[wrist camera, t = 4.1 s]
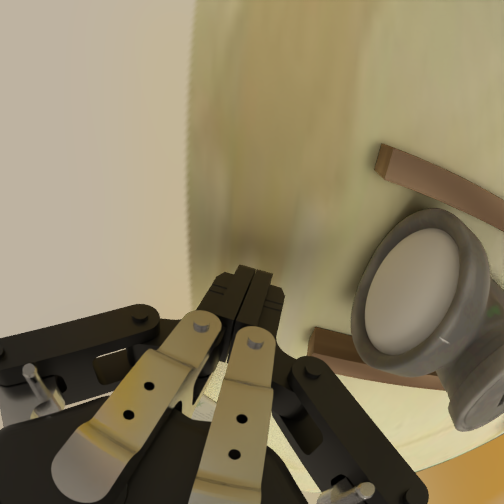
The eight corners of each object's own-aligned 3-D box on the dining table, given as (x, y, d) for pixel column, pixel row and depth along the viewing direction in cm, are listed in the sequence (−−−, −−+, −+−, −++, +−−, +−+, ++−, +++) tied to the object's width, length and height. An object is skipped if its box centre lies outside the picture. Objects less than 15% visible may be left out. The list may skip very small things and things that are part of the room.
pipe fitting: (331, 295, 17) (366, 447, 8) (408, 185, 14) (540, 278, 5) (440, 349, 19) (486, 449, 10) (502, 273, 15) (577, 359, 6)
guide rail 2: (315, 326, 19) (313, 352, 17) (518, 365, 17) (526, 383, 14) (308, 341, 20) (305, 367, 18) (509, 376, 17) (517, 393, 15)
